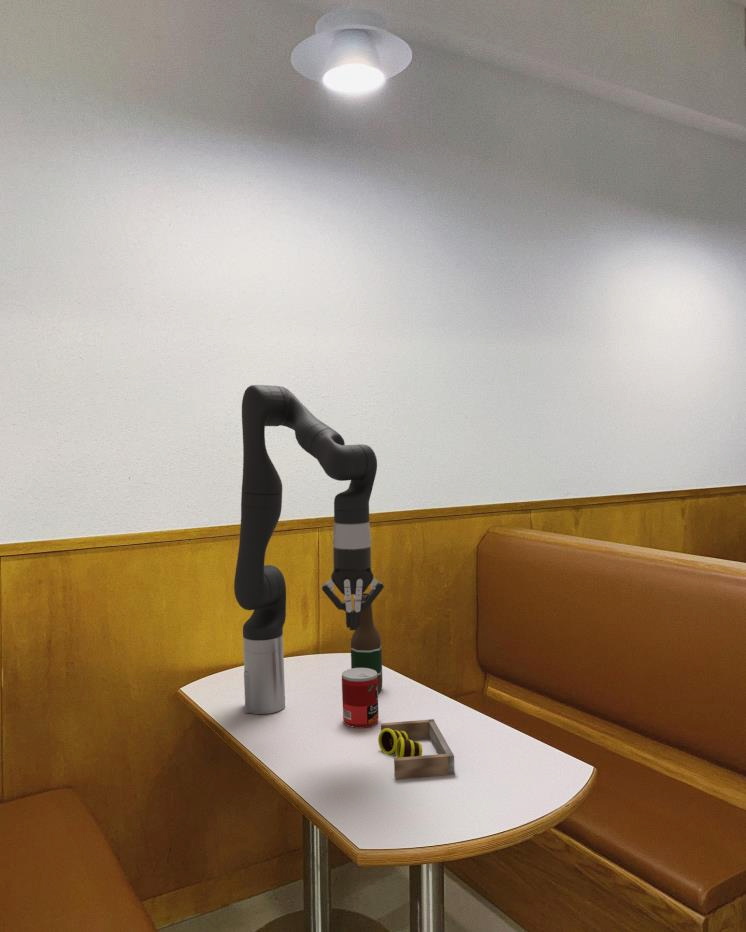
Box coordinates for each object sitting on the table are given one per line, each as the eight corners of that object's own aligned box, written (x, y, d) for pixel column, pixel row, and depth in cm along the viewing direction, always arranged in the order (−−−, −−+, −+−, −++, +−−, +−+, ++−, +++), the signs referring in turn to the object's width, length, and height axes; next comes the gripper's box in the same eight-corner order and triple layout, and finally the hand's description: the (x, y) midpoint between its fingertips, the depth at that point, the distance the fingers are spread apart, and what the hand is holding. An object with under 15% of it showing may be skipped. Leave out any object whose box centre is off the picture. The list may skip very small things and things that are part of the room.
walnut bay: (395, 779, 145) (395, 760, 145) (381, 739, 163) (380, 723, 163) (454, 774, 147) (454, 755, 147) (433, 735, 165) (433, 719, 165)
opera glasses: (422, 767, 152) (426, 741, 153) (399, 767, 150) (403, 741, 150) (398, 749, 161) (402, 724, 161) (376, 749, 159) (379, 725, 159)
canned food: (375, 729, 169) (373, 679, 169) (339, 727, 171) (337, 677, 170) (381, 716, 177) (380, 668, 176) (347, 714, 178) (345, 666, 178)
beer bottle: (388, 687, 195) (386, 592, 194) (372, 697, 189) (369, 599, 187) (362, 682, 199) (360, 589, 198) (345, 692, 193) (342, 595, 192)
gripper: (382, 540, 161) (383, 623, 163) (318, 542, 160) (319, 625, 161) (387, 546, 154) (387, 633, 155) (319, 548, 152) (321, 636, 154)
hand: (353, 629), depth 158 cm, fingers closed
